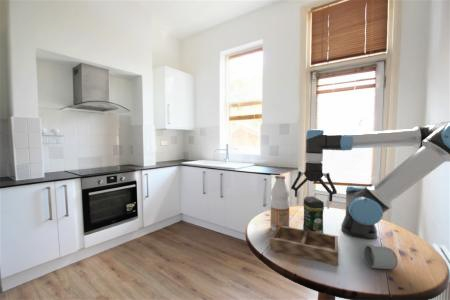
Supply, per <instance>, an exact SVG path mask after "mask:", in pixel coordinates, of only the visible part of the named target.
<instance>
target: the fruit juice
mask: <svg viewBox="0 0 450 300" xmlns="http://www.w3.org/2000/svg"><path fill="white" fill-rule="evenodd" d="M274 178H275V181H274V185H273V187H272V189H271V191H270V196H271V201H270V229H271V230H272V231H273V232H275V230H276V229H277V227H278V226H279V225H280V226H286V227H290V201H289V197H290V191H289V189H288V187H287V184H286V180H285V179H286V176H285V175H283V174H276V175H275V176H274Z"/></svg>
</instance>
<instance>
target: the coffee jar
mask: <svg viewBox="0 0 450 300" xmlns="http://www.w3.org/2000/svg"><path fill="white" fill-rule="evenodd" d="M324 210H325V206H324V201H322V200H321V199H319V198H317V197H315V196H313V195H312V196H305V197H304V198H303V223H302V226H303V227H302V229H303V230H308V231H314V232H319V233H324Z"/></svg>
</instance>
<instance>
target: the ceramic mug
mask: <svg viewBox="0 0 450 300" xmlns="http://www.w3.org/2000/svg"><path fill="white" fill-rule="evenodd" d="M396 254H397V253H396V252H395V251H394V250H393V249H392V248H389V247H387V246H380V245H371V244H367V245H365V246H364V248H363V258H364V261H365V263H366V265H367V267H368V268H370V269H379V270H380V269H382V270H383V269H384V270H385V269H386V270H394V269H396V267H397V266H398V257H397V255H396Z"/></svg>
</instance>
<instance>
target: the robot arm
mask: <svg viewBox="0 0 450 300" xmlns="http://www.w3.org/2000/svg"><path fill="white" fill-rule="evenodd" d="M398 147H399V148H400V147H414V148H415V149H417V150H416V151H415V152H414V153H413V154H411V155H409V157H408V158H406V159H405V160H404V161H402V162H401V163H400V164H398V165H397V166H396V167H395V168H393V170H391V171H390V172H389V173H388V174H386V175H385V176H384V177H382V178H381V179H380V180H379V181H378V182H377V183H375V184H373V186H358V185H356V186H355V185H349V186H347V187H346V190H345V194H346V195H345V216H344V218H343V219H342V223H341V226H340V227H341V228H340V229H341V231H342V232H343V233H344V234H346V235H348V236H350V237H353V238H358V239H363V240H364V239H365V240H374V239H375V238H377V236H378V231H377V227H376V224H377V223H378V224H379V222H381V220H382V219H383V216H384V214H385V213H386V212H387V211H389V210H390V209H391V206H392V205H391V203H392V202H393V201H395V200H396V199H398V198H399V197H400V196H401V195H402V194H404V193H405V192H407V190H409V189H411V188H412V187H413V186H414V185H416V184H417V183H418V182H420V181H422V180H423V179H424V178H425V177H426V176H428V175H429V174H431V173H432V172H433V171H434V170H436V169H437V168H439V166H441V165H442V164H444V163H447V162H448V163H449V162H450V121H449V120H448V121H444V122H443V121H442V122H438V123H433V124H428V125H421V126H415V127H414V128H411V129H394V130H381V131H378V130H377V131H367V132H366V131H364V132H363V131H362V132H350V133H349V132H348V133H325V132H324V129H308V130H307V131H306V136H305V161H306V162H305V165H304V167H305V170H304V171H302V170H299V171H298V173H297V177H296V178H295V180H294V182H293V184H292V185H291V187H290V189H291V190H294V197H295V198H296V205H299V204H300V193H301V192H300V188H301V187H302V186H303V185H304V184H305V183H306V182H308V181H309V182H314V183H317V182H318V183H319V184H321V186H322V187H323V188H324V189H325V190H326V192H327V204H326V205H327V208H326V209H329V210H330V202H333V195H336V194H337V193H338V191H337V188H336V187H335V185H334V183H333V181H332V179H331V177H330V172H326V173H325V172H324V173H323V163H322V162H323V157H324V154H323V153H324V151H330V150H331V151H343V152H344V151H352V150H353V149H364V148H365V149H369V148H373V149H374V148H398ZM303 175H304V177H305V178H304V179H303V180H302V181H301V182H300V183H299V184H298V182H299V180H300V178H301V177H303ZM323 177H324V178H325V179H326V180H327V182H328V184H329V186H328V185H327V184H326V183H325V182H324V180H323V179H322V178H323ZM297 184H298V185H297ZM296 185H297V186H296Z"/></svg>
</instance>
